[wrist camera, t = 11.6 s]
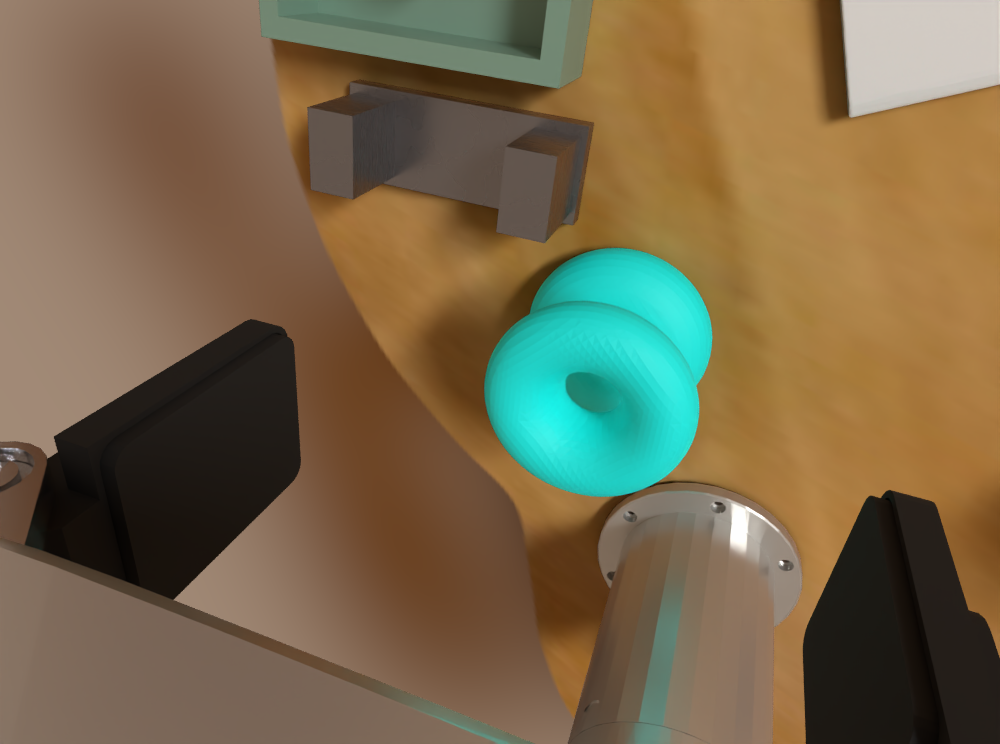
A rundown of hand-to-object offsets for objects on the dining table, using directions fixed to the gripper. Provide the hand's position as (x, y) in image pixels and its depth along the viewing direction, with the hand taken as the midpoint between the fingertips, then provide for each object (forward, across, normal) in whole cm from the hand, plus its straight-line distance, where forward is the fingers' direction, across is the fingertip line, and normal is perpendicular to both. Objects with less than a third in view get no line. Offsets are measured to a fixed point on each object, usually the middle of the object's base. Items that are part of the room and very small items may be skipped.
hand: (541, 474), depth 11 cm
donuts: (+28, +2, +10) cm, 29 cm away
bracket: (+27, +12, +2) cm, 29 cm away
